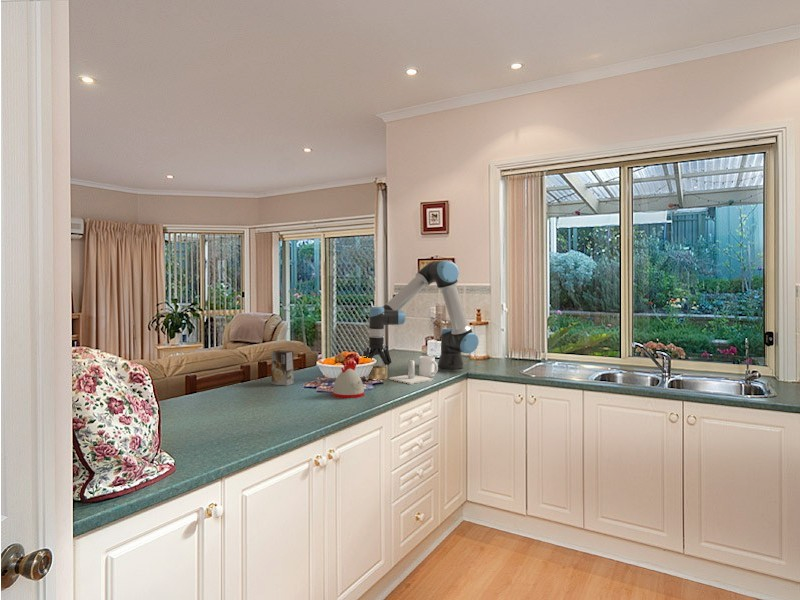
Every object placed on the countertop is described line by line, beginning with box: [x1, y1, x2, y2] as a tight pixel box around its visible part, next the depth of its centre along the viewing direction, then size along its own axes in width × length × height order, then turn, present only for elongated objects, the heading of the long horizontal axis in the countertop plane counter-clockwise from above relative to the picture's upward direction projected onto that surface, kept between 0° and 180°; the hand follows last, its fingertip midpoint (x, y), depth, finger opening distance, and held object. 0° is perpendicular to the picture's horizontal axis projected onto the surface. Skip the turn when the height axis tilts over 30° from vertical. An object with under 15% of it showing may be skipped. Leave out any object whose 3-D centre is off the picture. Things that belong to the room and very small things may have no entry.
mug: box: [418, 355, 439, 378], centre depth 277 cm, size 12×8×10 cm
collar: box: [369, 365, 388, 380], centre depth 270 cm, size 8×8×6 cm
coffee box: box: [270, 349, 295, 387], centre depth 253 cm, size 9×6×16 cm
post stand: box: [388, 359, 434, 385], centre depth 267 cm, size 16×16×10 cm
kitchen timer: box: [332, 361, 365, 399], centre depth 232 cm, size 14×14×15 cm
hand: (375, 378), depth 270 cm, fingers open, 12 cm apart
